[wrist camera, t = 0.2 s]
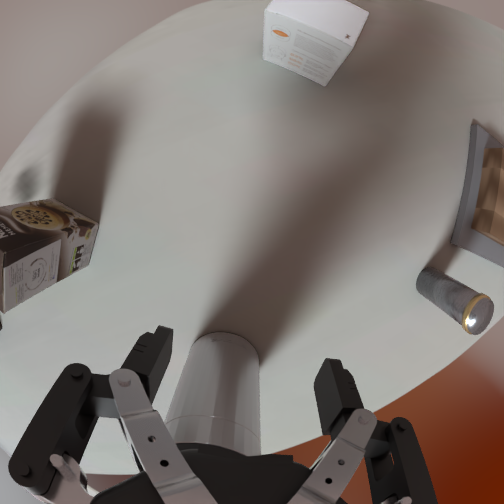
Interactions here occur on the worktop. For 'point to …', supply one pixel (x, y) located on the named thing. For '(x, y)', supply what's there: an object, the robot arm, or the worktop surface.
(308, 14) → the small box
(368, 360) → the worktop surface
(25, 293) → the coffee box
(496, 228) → the socket block
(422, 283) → the gold-rimmed metal cylinder
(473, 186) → the base
